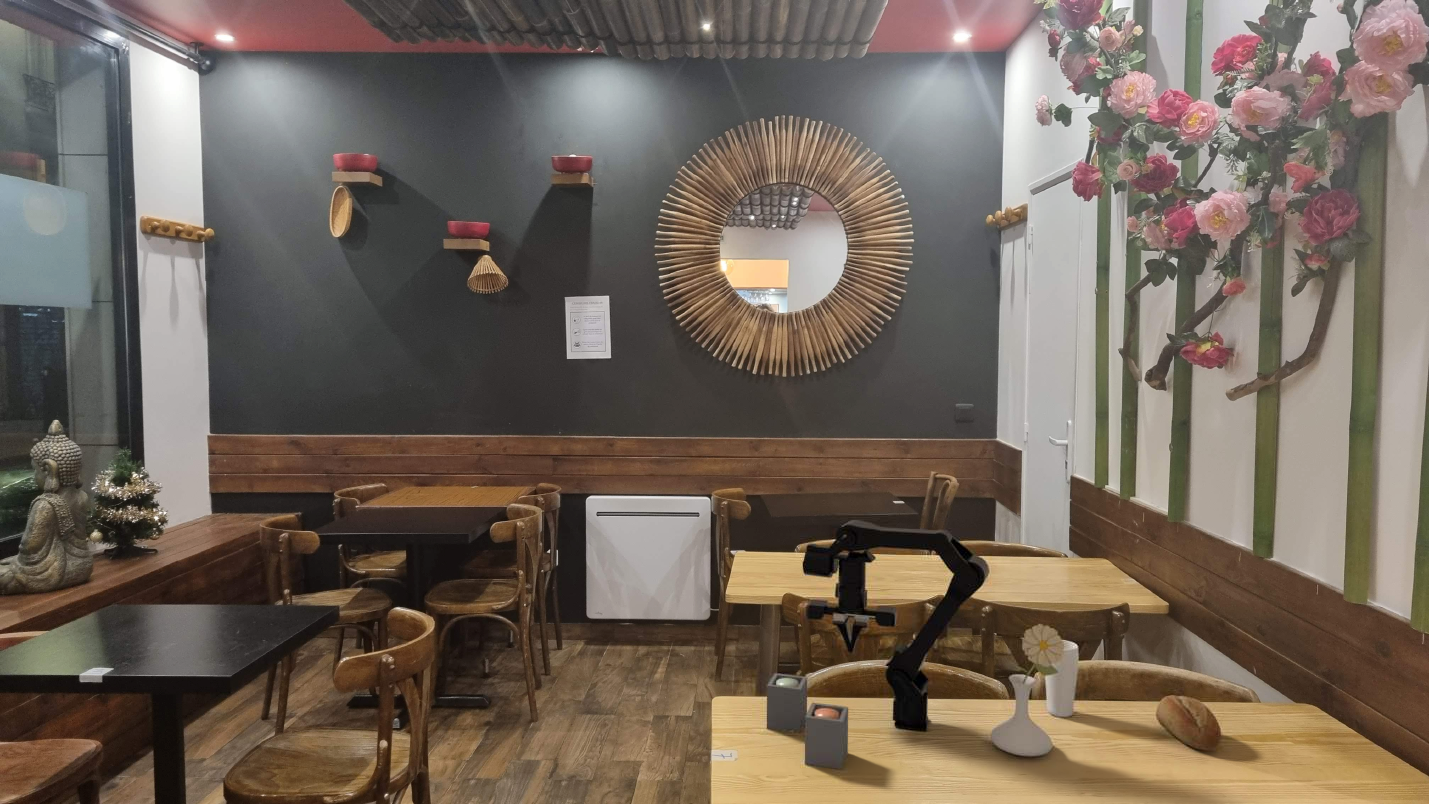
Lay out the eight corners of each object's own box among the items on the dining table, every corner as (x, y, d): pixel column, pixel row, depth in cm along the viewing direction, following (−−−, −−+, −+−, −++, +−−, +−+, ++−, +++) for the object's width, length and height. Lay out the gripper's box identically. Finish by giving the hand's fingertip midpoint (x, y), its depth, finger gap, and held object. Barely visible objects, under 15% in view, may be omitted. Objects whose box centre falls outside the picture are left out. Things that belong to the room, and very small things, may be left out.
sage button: (800, 691, 175) (800, 679, 175) (795, 699, 171) (795, 687, 170) (778, 688, 176) (779, 676, 176) (773, 697, 172) (773, 685, 172)
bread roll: (1185, 756, 160) (1187, 716, 160) (1142, 722, 175) (1143, 685, 175) (1234, 755, 161) (1235, 715, 160) (1187, 722, 176) (1188, 684, 175)
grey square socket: (806, 718, 176) (807, 677, 176) (800, 733, 169) (800, 689, 169) (774, 714, 178) (774, 673, 178) (766, 728, 172) (766, 685, 171)
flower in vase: (989, 756, 160) (991, 627, 158) (991, 731, 170) (993, 610, 169) (1063, 768, 155) (1066, 636, 154) (1060, 742, 166) (1063, 618, 165)
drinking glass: (1080, 721, 176) (1082, 650, 175) (1046, 718, 177) (1047, 648, 176) (1073, 707, 182) (1074, 640, 181) (1040, 705, 183) (1041, 638, 183)
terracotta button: (840, 722, 160) (841, 709, 160) (837, 732, 156) (837, 719, 155) (817, 719, 161) (817, 706, 161) (812, 729, 157) (812, 716, 157)
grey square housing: (847, 752, 161) (848, 706, 161) (842, 769, 154) (842, 722, 154) (811, 747, 163) (812, 702, 163) (804, 764, 157) (805, 717, 156)
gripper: (899, 574, 183) (898, 644, 184) (815, 567, 189) (814, 635, 190) (895, 587, 173) (893, 662, 174) (805, 580, 178) (805, 652, 179)
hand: (850, 652), depth 179 cm, fingers closed
